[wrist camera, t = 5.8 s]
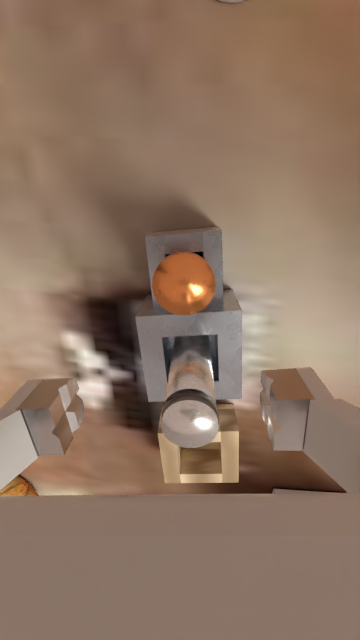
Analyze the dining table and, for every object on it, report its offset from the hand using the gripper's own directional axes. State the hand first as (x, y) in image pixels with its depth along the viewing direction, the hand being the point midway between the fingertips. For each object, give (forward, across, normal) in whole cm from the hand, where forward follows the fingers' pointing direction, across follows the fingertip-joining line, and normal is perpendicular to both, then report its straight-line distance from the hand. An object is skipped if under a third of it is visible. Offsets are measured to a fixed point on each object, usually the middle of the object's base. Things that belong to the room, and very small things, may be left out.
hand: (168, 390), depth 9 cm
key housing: (+23, 0, 0) cm, 23 cm away
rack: (+23, 0, +24) cm, 34 cm away
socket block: (+23, 0, +8) cm, 25 cm away
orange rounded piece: (+22, 0, 0) cm, 22 cm away
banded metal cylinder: (+21, 0, +8) cm, 23 cm away
